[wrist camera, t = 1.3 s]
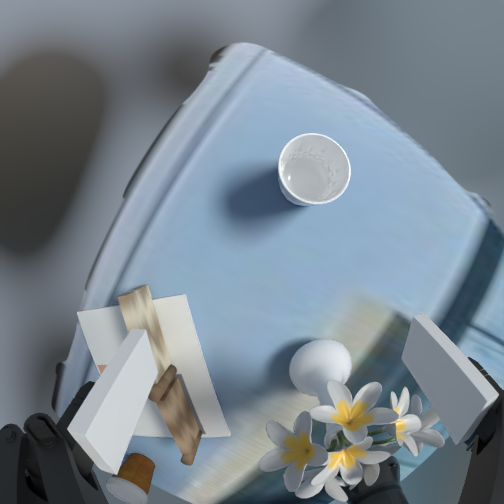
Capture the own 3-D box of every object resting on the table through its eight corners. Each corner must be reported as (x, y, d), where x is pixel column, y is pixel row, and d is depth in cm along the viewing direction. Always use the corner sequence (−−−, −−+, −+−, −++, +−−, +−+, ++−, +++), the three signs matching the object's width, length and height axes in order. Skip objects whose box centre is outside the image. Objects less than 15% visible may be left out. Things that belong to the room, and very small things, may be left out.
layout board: (230, 434, 41) (230, 436, 41) (131, 433, 43) (130, 434, 42) (185, 293, 39) (184, 294, 39) (78, 311, 41) (76, 312, 40)
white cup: (339, 173, 37) (361, 157, 27) (313, 220, 37) (330, 218, 28) (291, 146, 37) (299, 120, 27) (264, 192, 37) (264, 180, 28)
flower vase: (375, 375, 39) (442, 476, 14) (268, 396, 40) (267, 523, 15) (374, 305, 38) (477, 385, 13) (256, 327, 39) (242, 451, 14)
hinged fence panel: (172, 361, 40) (156, 383, 33) (163, 362, 40) (147, 384, 33) (148, 284, 39) (126, 295, 32) (139, 286, 39) (117, 296, 32)
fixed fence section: (203, 435, 41) (194, 465, 33) (193, 435, 41) (183, 465, 33) (174, 363, 40) (156, 390, 32) (164, 364, 40) (144, 390, 32)
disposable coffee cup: (145, 475, 44) (129, 507, 33) (117, 452, 44) (96, 483, 32) (169, 470, 44) (155, 506, 32) (139, 444, 43) (119, 480, 31)
